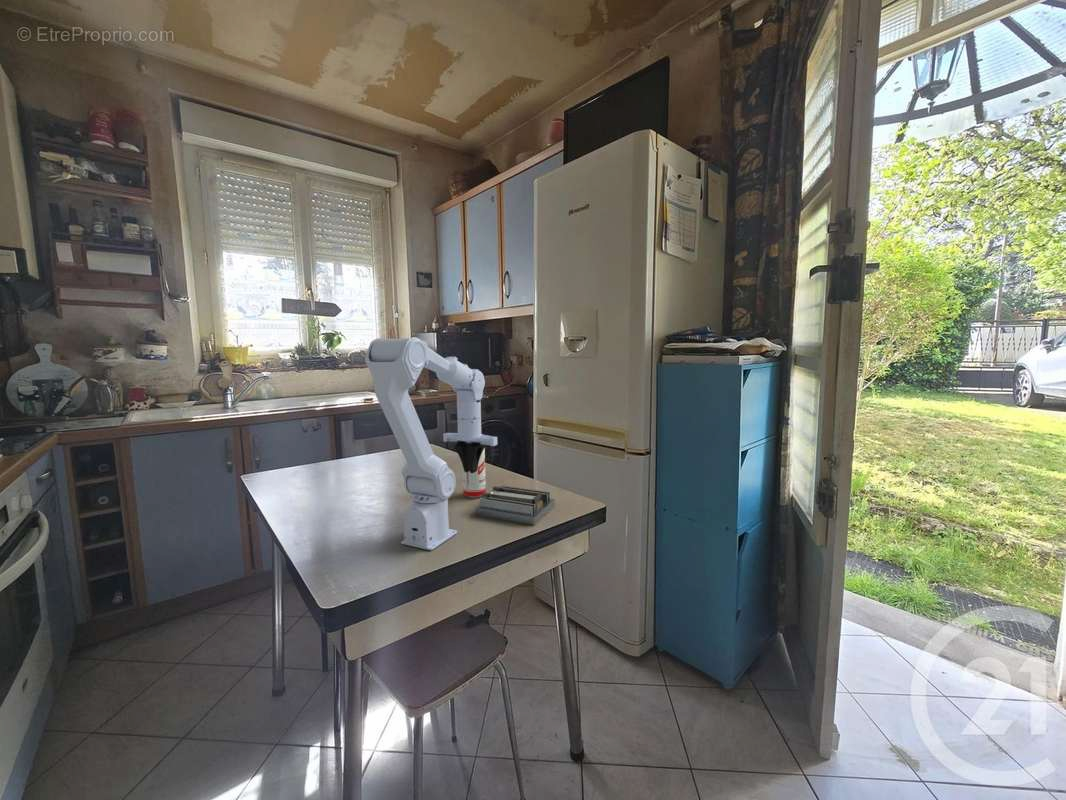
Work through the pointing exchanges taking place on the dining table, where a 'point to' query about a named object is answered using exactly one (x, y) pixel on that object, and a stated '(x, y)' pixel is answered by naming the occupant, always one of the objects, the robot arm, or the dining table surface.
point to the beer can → (475, 480)
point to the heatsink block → (516, 506)
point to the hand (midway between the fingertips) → (470, 471)
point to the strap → (511, 496)
